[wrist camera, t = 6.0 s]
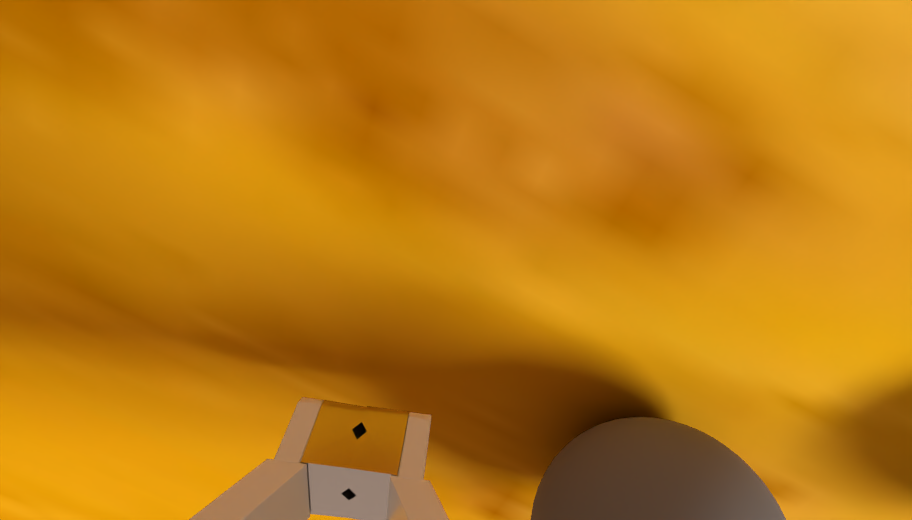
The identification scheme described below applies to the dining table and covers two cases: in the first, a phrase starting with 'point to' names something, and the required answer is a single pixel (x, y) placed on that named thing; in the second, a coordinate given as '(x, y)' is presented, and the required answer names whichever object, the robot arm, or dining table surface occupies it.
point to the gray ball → (650, 477)
